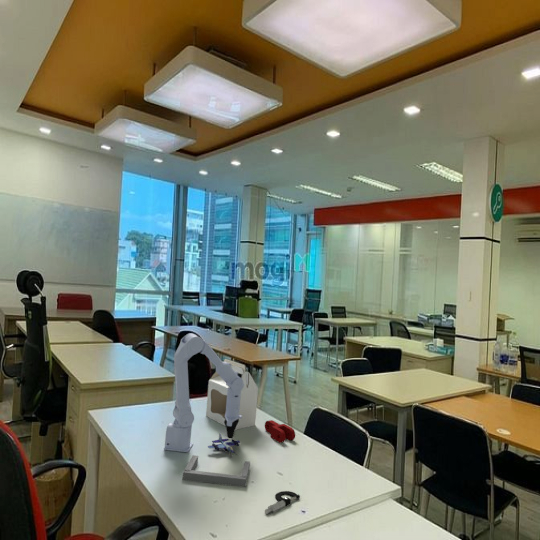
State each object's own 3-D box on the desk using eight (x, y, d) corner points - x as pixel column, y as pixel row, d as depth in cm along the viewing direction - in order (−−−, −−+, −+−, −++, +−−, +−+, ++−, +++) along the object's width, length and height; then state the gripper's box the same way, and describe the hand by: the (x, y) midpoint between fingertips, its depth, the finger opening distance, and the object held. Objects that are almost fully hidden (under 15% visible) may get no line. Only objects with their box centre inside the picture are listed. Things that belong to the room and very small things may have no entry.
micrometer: (285, 490, 132) (286, 483, 132) (302, 500, 127) (302, 492, 127) (251, 506, 121) (252, 497, 121) (268, 517, 116) (269, 508, 116)
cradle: (182, 479, 132) (182, 472, 132) (192, 462, 145) (192, 455, 145) (245, 487, 131) (245, 479, 131) (249, 468, 144) (250, 461, 144)
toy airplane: (237, 463, 148) (238, 453, 148) (202, 456, 151) (203, 446, 151) (248, 449, 160) (249, 440, 160) (216, 443, 164) (216, 434, 164)
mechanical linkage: (294, 441, 172) (295, 429, 172) (281, 444, 168) (282, 432, 168) (272, 428, 185) (273, 417, 185) (260, 431, 181) (260, 420, 181)
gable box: (205, 415, 194) (210, 358, 195) (227, 411, 203) (231, 356, 204) (233, 431, 178) (238, 367, 179) (255, 425, 187) (260, 365, 188)
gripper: (240, 411, 158) (237, 445, 158) (244, 400, 173) (242, 432, 173) (222, 409, 159) (219, 443, 158) (228, 398, 173) (225, 430, 173)
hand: (230, 437), depth 166 cm, fingers closed
